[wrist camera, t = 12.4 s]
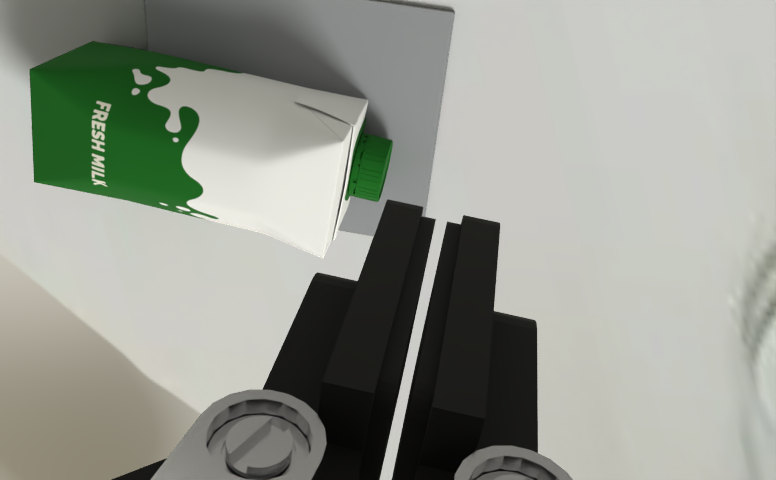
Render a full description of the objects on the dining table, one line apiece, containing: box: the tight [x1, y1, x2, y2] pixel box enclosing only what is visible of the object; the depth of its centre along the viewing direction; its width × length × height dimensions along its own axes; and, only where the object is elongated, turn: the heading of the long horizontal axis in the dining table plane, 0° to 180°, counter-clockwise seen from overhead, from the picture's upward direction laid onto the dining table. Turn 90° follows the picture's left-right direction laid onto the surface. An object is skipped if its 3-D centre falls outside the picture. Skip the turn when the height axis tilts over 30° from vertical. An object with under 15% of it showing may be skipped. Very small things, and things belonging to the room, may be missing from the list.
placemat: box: [144, 0, 455, 236], centre depth 48 cm, size 16×19×1 cm
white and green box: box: [30, 41, 393, 259], centre depth 45 cm, size 9×9×20 cm
